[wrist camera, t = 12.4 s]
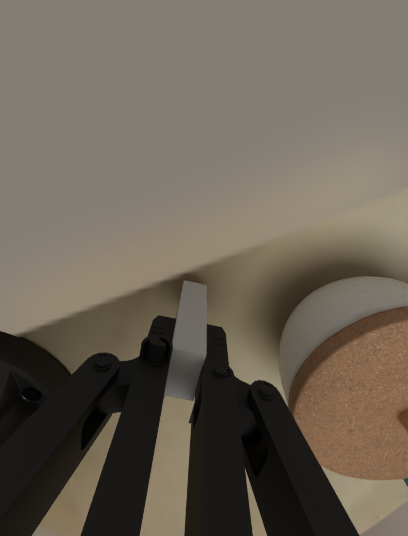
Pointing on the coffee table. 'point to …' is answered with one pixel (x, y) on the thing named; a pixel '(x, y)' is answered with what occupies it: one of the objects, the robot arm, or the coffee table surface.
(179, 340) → the robot arm
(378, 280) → the lidded jar
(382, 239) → the coffee table surface
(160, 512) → the coffee table surface
